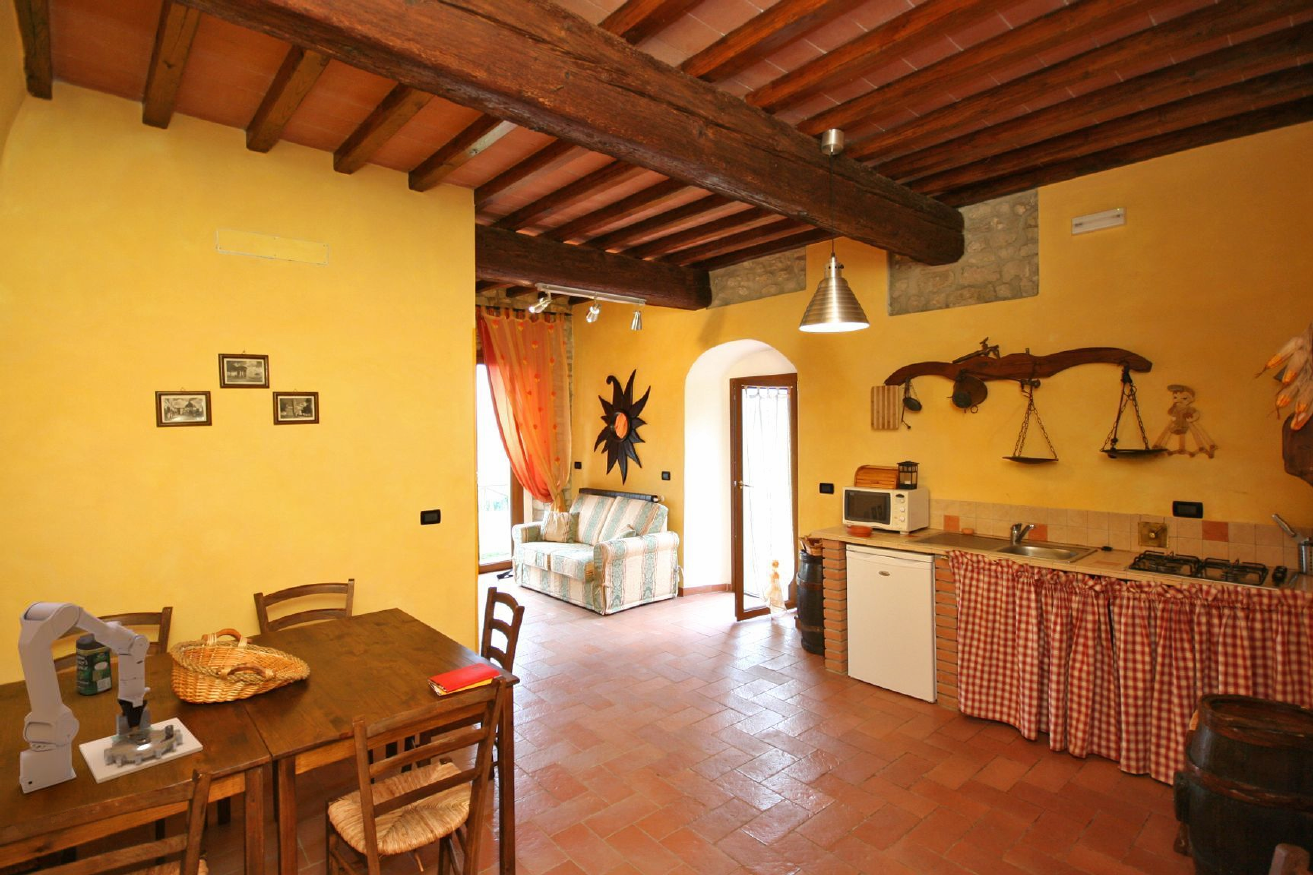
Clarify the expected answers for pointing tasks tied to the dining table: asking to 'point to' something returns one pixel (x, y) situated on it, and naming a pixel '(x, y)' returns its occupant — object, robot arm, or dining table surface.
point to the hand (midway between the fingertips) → (132, 724)
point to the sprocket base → (105, 772)
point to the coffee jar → (92, 665)
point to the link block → (123, 725)
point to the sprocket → (143, 746)
